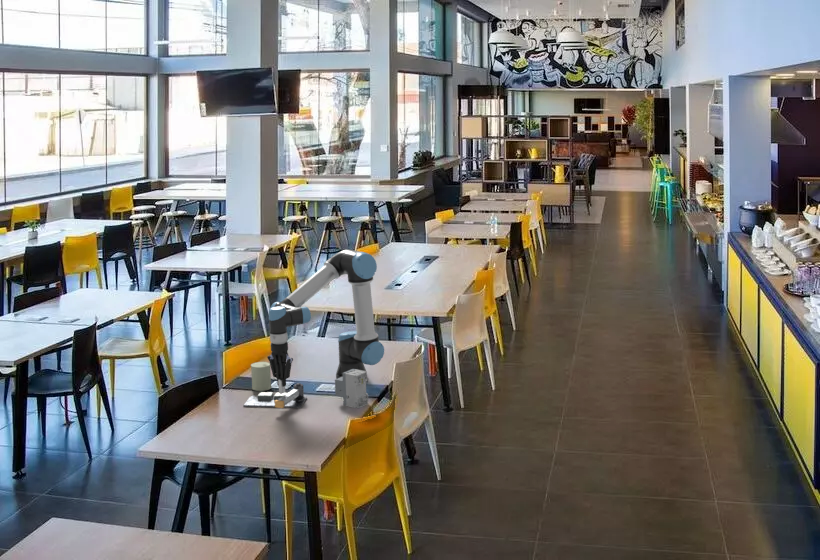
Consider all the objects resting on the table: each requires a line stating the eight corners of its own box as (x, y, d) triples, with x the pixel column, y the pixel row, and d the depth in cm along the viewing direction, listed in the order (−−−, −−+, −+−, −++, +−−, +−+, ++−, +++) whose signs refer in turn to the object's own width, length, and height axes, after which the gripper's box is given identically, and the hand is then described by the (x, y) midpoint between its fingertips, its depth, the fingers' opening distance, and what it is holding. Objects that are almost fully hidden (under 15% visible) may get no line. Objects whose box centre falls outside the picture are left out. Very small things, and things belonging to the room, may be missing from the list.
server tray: (306, 398, 427) (306, 392, 427) (300, 408, 415) (300, 401, 414) (251, 397, 430) (251, 391, 430) (243, 406, 418) (243, 400, 417)
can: (262, 392, 438) (261, 367, 435) (247, 389, 442) (246, 364, 440) (275, 386, 445) (274, 362, 443) (260, 383, 450) (259, 359, 448)
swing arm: (296, 395, 427) (296, 381, 426) (305, 396, 426) (304, 382, 425) (274, 411, 407) (274, 396, 406) (283, 412, 406) (283, 397, 404)
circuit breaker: (343, 398, 427) (342, 366, 424) (368, 403, 419) (367, 371, 416) (332, 402, 421) (331, 370, 418) (358, 408, 413) (357, 375, 410)
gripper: (262, 342, 412) (265, 393, 417) (285, 345, 405) (288, 397, 410) (273, 338, 418) (276, 388, 423) (296, 341, 412) (299, 392, 417)
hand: (282, 392), depth 417 cm, fingers closed
